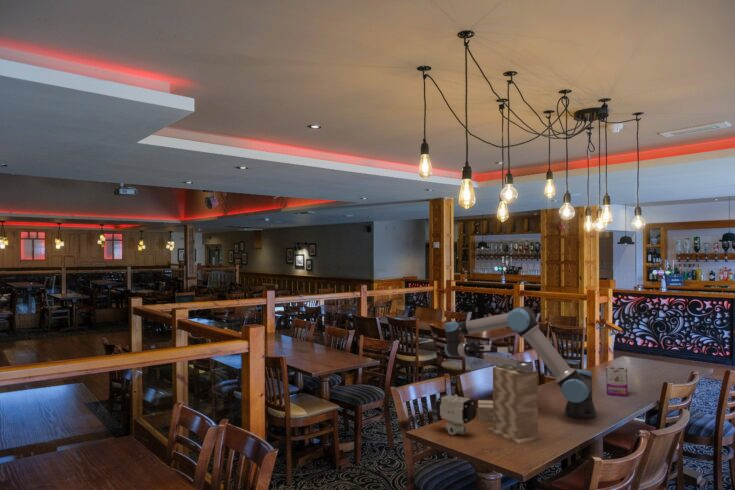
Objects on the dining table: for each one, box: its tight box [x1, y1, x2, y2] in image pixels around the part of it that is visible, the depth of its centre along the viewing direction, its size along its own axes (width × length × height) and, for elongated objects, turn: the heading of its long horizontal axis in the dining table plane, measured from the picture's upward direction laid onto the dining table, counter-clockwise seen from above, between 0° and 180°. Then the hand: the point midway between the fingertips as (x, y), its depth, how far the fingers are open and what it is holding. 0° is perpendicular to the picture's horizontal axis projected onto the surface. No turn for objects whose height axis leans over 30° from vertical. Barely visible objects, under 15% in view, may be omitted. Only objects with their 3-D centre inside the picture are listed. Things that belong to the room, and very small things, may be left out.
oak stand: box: [488, 363, 544, 445], centre depth 233 cm, size 19×15×32 cm
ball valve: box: [435, 393, 478, 436], centre depth 234 cm, size 18×8×18 cm, turn 50°
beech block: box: [477, 399, 493, 423], centre depth 258 cm, size 14×10×6 cm
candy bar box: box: [605, 365, 629, 397], centre depth 297 cm, size 11×5×16 cm, turn 68°
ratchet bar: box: [484, 353, 533, 374], centre depth 237 cm, size 28×7×4 cm, turn 28°
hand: (498, 348), depth 258 cm, fingers open, 13 cm apart
